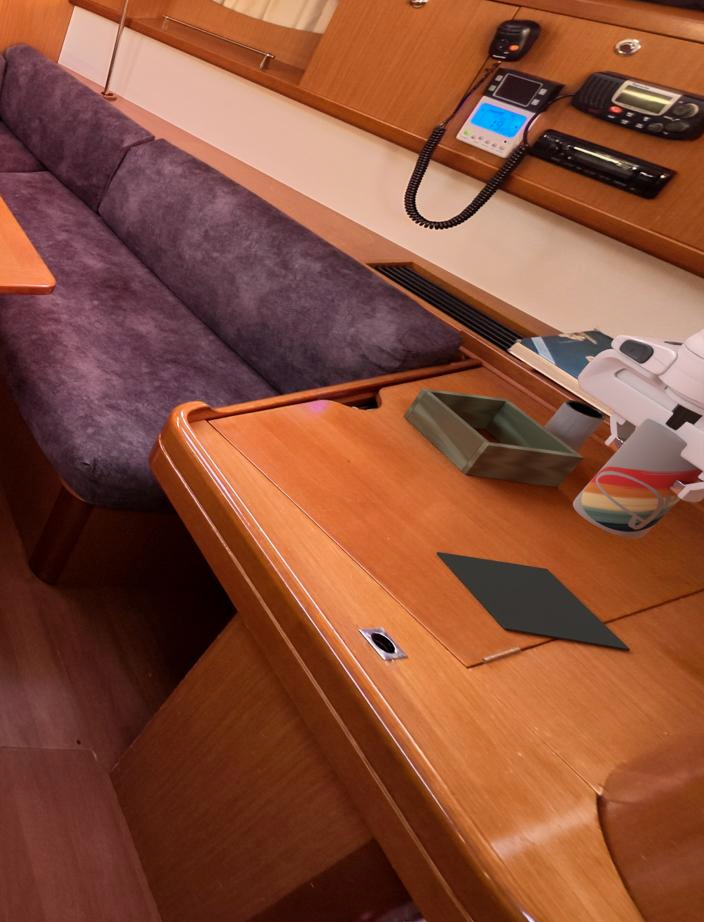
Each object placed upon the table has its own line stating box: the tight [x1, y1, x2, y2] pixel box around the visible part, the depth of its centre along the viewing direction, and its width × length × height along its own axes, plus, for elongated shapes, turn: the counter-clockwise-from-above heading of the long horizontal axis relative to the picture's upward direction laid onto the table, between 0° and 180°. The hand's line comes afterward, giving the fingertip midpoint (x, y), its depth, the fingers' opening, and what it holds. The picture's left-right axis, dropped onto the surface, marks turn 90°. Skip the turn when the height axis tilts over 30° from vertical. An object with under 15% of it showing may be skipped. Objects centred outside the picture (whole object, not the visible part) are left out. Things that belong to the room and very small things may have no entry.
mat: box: [436, 551, 631, 652], centre depth 86 cm, size 14×11×1 cm
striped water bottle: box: [572, 404, 703, 540], centre depth 74 cm, size 6×6×20 cm
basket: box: [403, 388, 585, 488], centre depth 109 cm, size 14×14×7 cm
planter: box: [543, 399, 607, 453], centre depth 108 cm, size 4×4×10 cm
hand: (647, 471), depth 75 cm, fingers closed on striped water bottle, 5 cm apart
